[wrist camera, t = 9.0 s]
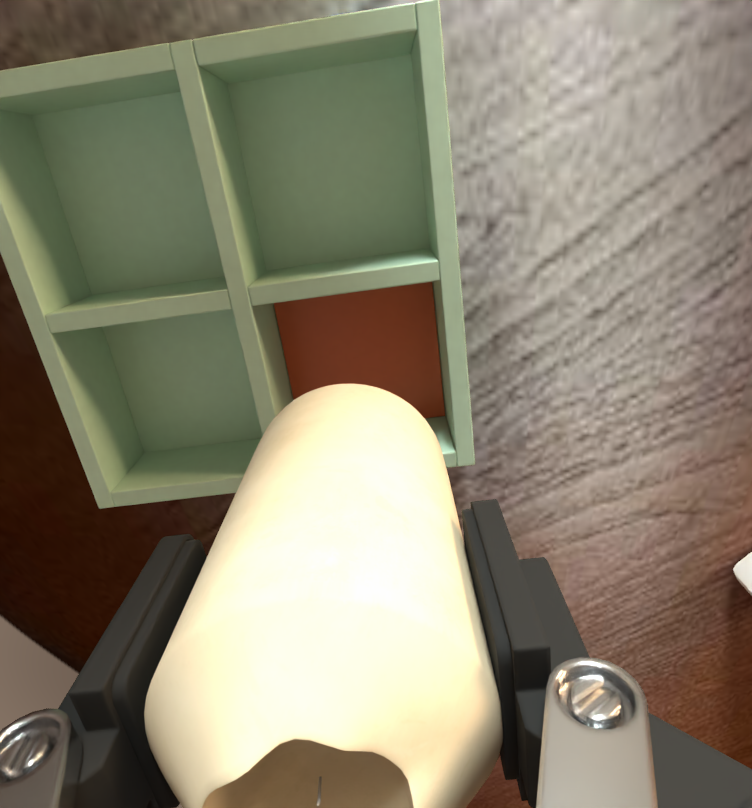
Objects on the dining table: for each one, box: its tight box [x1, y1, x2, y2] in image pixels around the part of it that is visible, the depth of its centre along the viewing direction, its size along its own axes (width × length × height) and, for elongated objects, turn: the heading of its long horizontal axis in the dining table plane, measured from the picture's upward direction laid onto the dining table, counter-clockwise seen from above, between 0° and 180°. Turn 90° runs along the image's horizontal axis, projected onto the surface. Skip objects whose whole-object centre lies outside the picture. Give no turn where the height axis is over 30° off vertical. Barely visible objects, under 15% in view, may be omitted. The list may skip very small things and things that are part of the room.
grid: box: [0, 0, 475, 509], centre depth 24 cm, size 17×17×5 cm
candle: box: [144, 384, 503, 808], centre depth 12 cm, size 6×6×10 cm
